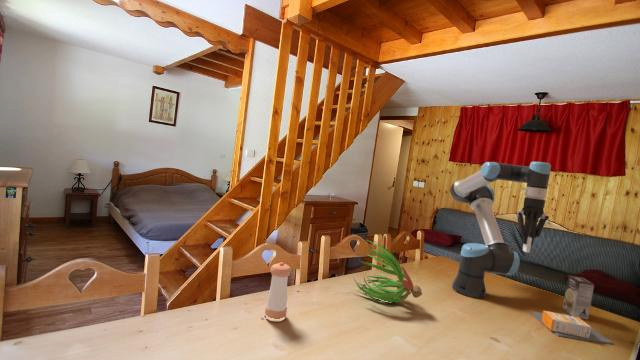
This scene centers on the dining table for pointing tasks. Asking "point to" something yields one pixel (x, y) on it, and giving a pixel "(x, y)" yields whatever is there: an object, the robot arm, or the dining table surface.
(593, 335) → the mat
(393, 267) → the decorative plant
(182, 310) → the dining table surface
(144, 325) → the dining table surface
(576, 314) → the coffee box
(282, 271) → the pepper shaker
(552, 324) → the supplement box
